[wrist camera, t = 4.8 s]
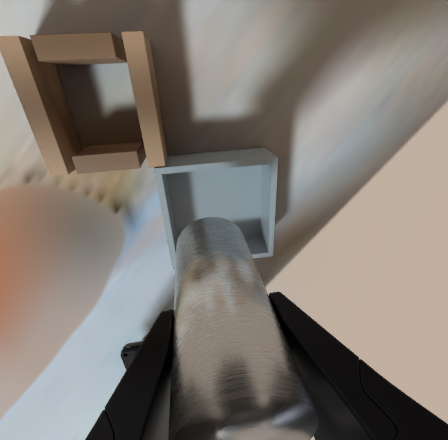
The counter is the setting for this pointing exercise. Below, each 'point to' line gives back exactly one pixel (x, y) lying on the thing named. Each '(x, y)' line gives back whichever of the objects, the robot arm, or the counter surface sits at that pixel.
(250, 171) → the tray
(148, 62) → the socket block
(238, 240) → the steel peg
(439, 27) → the counter surface
